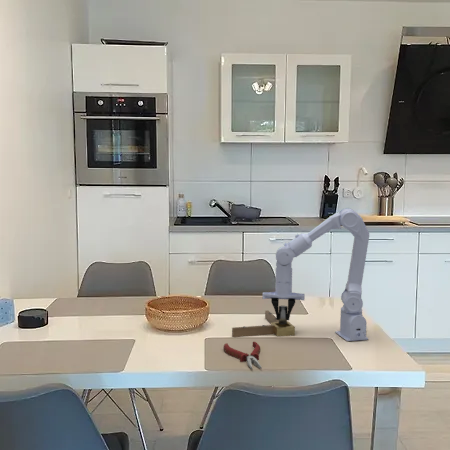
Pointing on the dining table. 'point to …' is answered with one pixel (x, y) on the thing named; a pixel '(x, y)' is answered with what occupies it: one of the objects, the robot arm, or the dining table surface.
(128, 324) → the dining table surface
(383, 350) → the dining table surface
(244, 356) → the pliers
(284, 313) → the hinge pin
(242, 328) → the hinge
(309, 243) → the robot arm
